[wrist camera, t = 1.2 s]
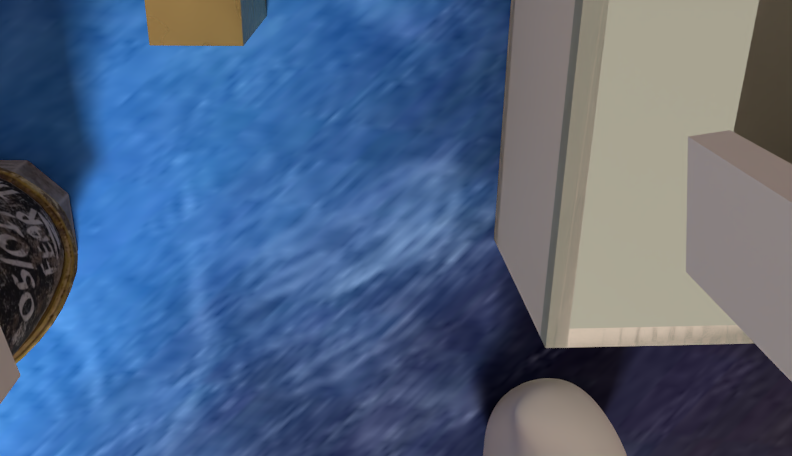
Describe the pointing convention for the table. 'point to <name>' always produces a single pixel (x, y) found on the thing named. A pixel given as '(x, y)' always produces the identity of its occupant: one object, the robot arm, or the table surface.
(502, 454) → the figurine
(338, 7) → the table surface
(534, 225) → the coin box
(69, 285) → the ring-topped bottle ornament
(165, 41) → the tan rectangular block
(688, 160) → the robot arm
